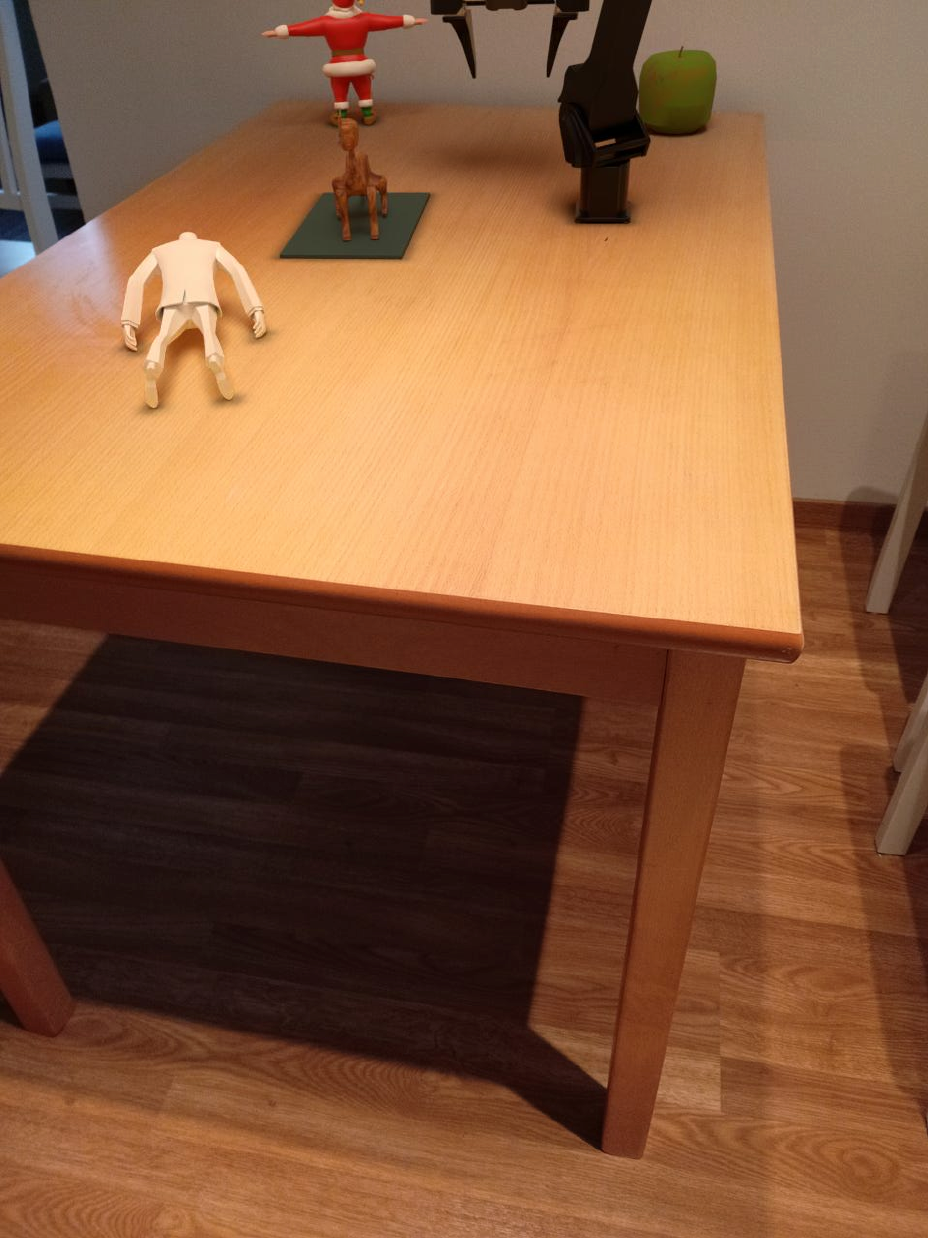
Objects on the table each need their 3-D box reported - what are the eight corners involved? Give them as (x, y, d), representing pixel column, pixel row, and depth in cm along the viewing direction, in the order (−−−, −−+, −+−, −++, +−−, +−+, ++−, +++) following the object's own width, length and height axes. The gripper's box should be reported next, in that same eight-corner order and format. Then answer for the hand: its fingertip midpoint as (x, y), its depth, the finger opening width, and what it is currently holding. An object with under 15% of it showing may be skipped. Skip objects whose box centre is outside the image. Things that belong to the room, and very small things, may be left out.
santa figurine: (429, 111, 158) (422, -27, 146) (436, 120, 154) (429, -21, 141) (273, 127, 154) (253, -14, 142) (277, 136, 150) (255, -8, 138)
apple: (689, 115, 150) (698, 34, 143) (725, 132, 143) (735, 47, 136) (623, 124, 148) (628, 42, 141) (655, 142, 140) (662, 56, 133)
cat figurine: (338, 198, 125) (324, 77, 116) (389, 195, 125) (380, 75, 116) (331, 249, 111) (315, 116, 102) (389, 245, 111) (378, 113, 102)
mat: (402, 258, 109) (401, 255, 109) (279, 257, 111) (279, 254, 110) (430, 195, 126) (430, 192, 125) (323, 195, 127) (323, 192, 127)
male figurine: (274, 413, 87) (263, 269, 103) (263, 353, 82) (253, 212, 98) (117, 431, 85) (131, 282, 101) (96, 371, 81) (114, 224, 97)
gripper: (419, -65, 107) (428, 94, 117) (592, -71, 105) (585, 92, 115) (433, -77, 115) (440, 72, 125) (593, -82, 113) (587, 70, 123)
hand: (511, 77), depth 122 cm, fingers open, 9 cm apart
